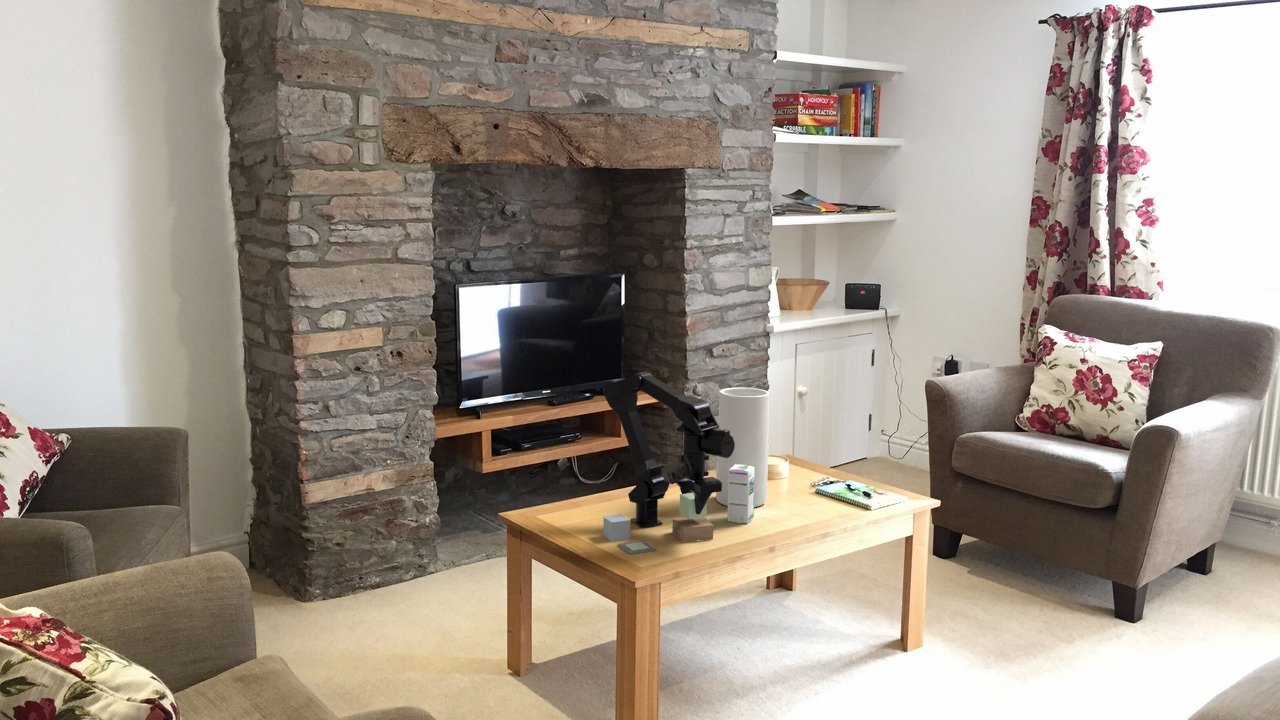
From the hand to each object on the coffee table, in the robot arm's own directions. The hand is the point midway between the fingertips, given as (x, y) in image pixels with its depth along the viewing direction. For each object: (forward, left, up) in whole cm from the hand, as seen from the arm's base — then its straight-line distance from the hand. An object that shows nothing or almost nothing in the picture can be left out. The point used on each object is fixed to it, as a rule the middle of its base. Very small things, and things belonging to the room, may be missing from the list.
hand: (692, 511), depth 260 cm
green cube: (0, 0, -1) cm, 1 cm away
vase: (-20, +27, -7) cm, 34 cm away
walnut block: (0, 0, -7) cm, 7 cm away
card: (+3, -17, -6) cm, 18 cm away
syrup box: (-6, +18, -7) cm, 20 cm away
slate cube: (-7, -18, -7) cm, 20 cm away
